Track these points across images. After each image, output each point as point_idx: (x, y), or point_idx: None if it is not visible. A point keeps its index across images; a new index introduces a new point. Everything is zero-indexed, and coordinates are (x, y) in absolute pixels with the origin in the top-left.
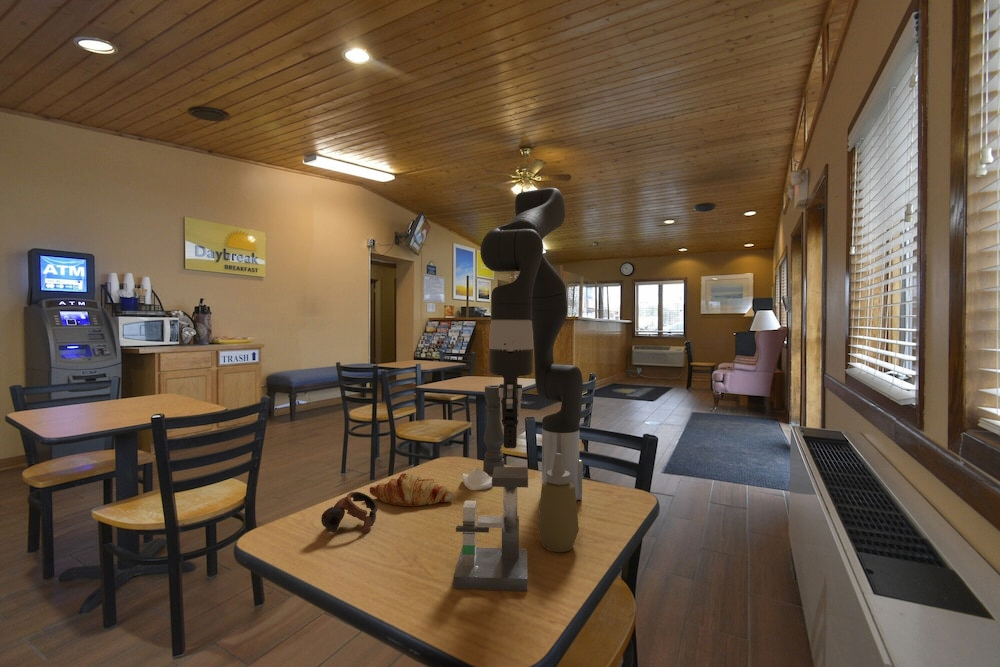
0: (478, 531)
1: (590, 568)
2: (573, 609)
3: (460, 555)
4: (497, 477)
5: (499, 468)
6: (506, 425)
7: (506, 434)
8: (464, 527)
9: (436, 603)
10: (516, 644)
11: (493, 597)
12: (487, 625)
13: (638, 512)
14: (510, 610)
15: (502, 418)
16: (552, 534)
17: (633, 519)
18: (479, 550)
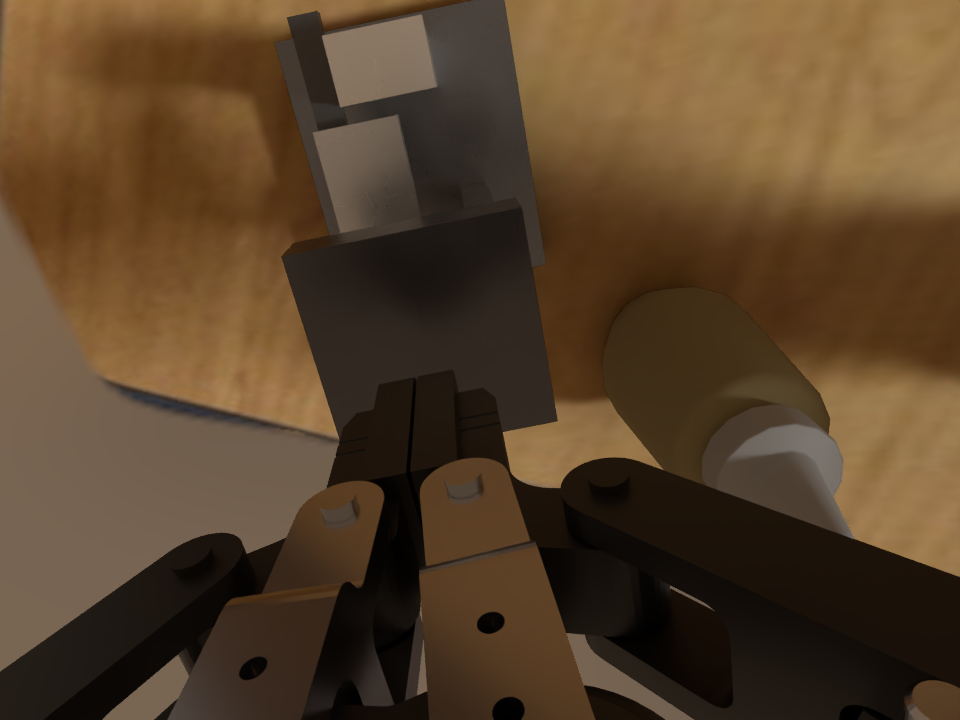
0: None
1: (532, 444)
2: (312, 421)
3: (432, 12)
4: (300, 290)
5: (489, 255)
6: (281, 546)
7: (331, 475)
8: (310, 61)
9: (182, 13)
10: (114, 310)
11: (287, 198)
12: (151, 217)
13: (941, 558)
14: (244, 264)
15: (65, 627)
16: (605, 357)
17: (883, 544)
18: (491, 83)
